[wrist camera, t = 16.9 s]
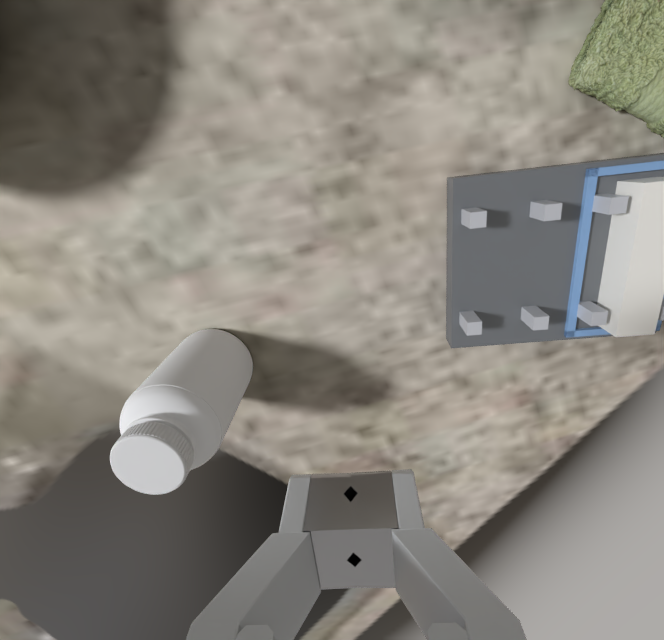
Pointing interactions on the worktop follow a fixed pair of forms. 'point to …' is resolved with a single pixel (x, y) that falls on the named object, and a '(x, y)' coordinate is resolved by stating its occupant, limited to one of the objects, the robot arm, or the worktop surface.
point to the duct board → (533, 250)
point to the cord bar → (635, 260)
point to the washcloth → (625, 60)
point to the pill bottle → (181, 412)
